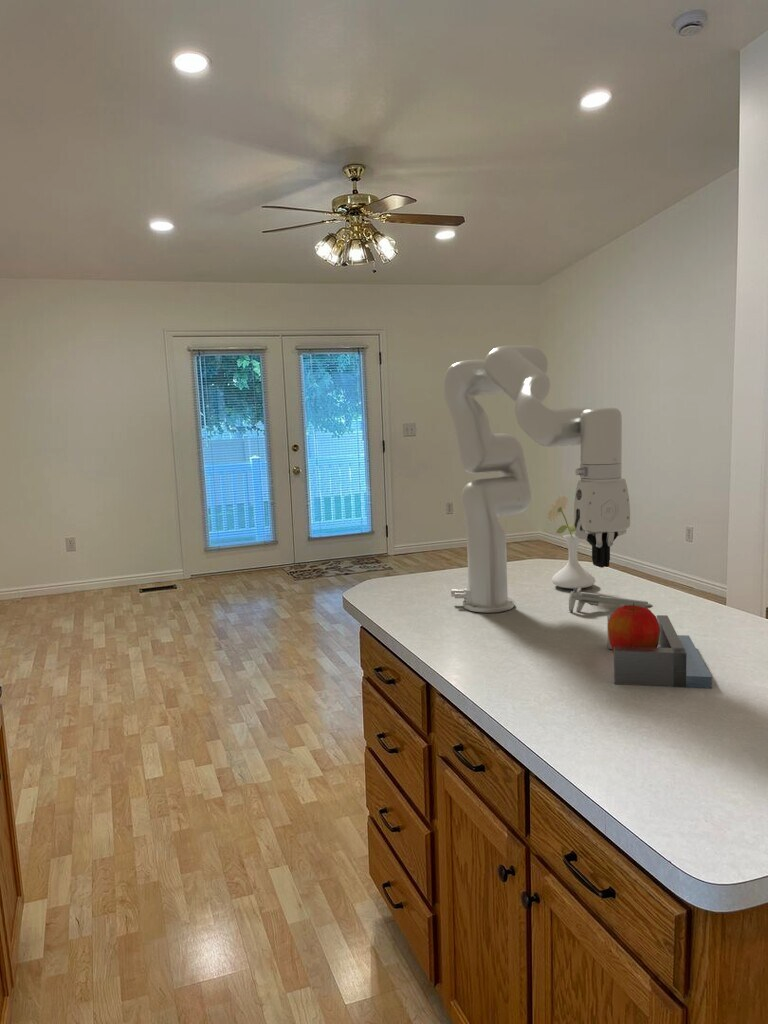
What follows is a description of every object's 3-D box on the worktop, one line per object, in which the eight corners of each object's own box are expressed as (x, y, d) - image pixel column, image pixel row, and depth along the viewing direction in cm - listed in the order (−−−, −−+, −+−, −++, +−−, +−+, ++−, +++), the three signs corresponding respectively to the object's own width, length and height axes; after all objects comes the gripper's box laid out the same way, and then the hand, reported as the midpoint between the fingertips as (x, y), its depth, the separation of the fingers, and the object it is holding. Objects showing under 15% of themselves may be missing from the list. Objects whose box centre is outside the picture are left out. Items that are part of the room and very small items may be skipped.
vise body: (615, 684, 122) (614, 650, 121) (606, 642, 143) (606, 614, 142) (711, 688, 118) (712, 654, 117) (688, 645, 139) (689, 615, 138)
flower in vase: (576, 579, 196) (575, 490, 192) (604, 588, 185) (604, 494, 182) (537, 586, 190) (536, 494, 187) (564, 595, 180) (563, 498, 177)
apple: (599, 659, 134) (599, 598, 132) (644, 655, 135) (644, 594, 133) (621, 677, 125) (621, 611, 123) (669, 672, 126) (669, 607, 124)
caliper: (570, 614, 165) (570, 588, 164) (568, 613, 166) (568, 587, 165) (653, 607, 167) (653, 581, 166) (650, 606, 168) (650, 580, 167)
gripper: (577, 477, 129) (577, 574, 132) (646, 471, 133) (645, 565, 136) (556, 473, 136) (557, 566, 139) (622, 468, 141) (622, 558, 143)
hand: (600, 565), depth 138 cm, fingers closed
